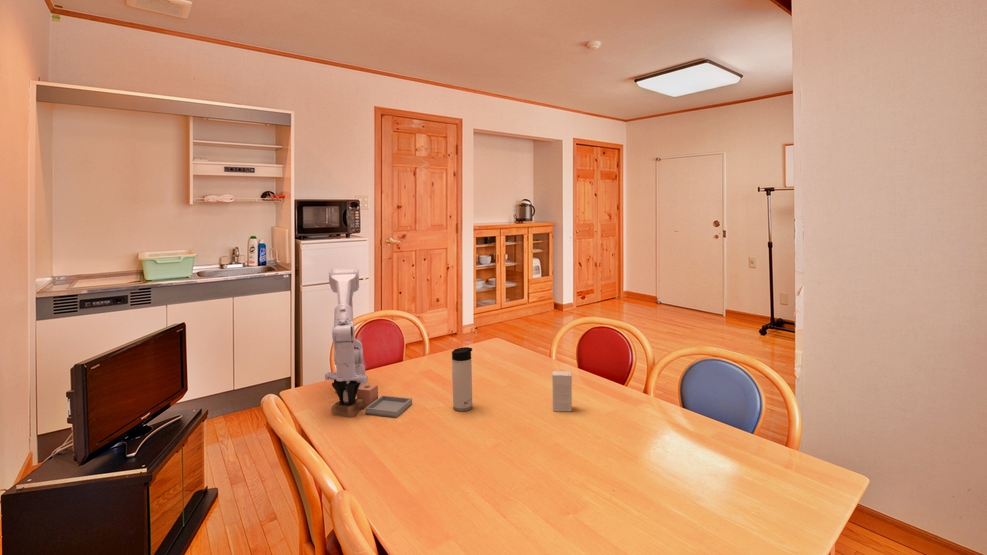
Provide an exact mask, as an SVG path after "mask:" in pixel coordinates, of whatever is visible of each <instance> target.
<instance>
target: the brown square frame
mask: <svg viewBox="0 0 987 555" xmlns="http://www.w3.org/2000/svg"><path fill="white" fill-rule="evenodd" d="M364 409H365V407H364V405H363V399H357V398H355V402H354V403H353V404H352V405H351V406H345V405H343V403H340V400H338V401H337V402H335V403H334V404H332V405H331V415H332V416H338V417H348V418H353V417H354V416H355V415H357V414H358V413H360V412H361V411H362V410H364Z"/></svg>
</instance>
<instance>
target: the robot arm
mask: <svg viewBox="0 0 987 555" xmlns="http://www.w3.org/2000/svg"><path fill="white" fill-rule="evenodd" d="M359 273H360V272H359V268H358V267H353V268H347V267H346V268H330V269H329V271H328V283H329V286H330V289H331V291H332V292H333V293H335V294H337V304H338V305H336V307H335V308H334V310H333V311H334V314H333V316H334V320H333V322H334V323H333V324H334V325H333V326H332V329H331V330H332V331H331V334H332V335H331V337H332V338H331V339H332V342H333V362H334V363H333V364H334V365H335V371H334V372H326V373H324V380H325V381H329V380H331V381H332V380H333V382H332V383H331V386H332V388H333V389H334V392H336V394H337V396H338V399H339V400H338V401H340V403H343V394H342V389H344V388H347V391H348V395H349V404H353V403H354V402H355V399H357V390H358V388H359V387H360V386H362V385H363V384H368V382H369V378H368V375H366V367H365V365H364V364H363V363H364V349H363V348H364V347H363V343H362V342H361V340H359V339H357V338H356V334H355V333H356V332H355V325H354V309H353V296H354V293H356V292H358V291H359V288H360V274H359Z"/></svg>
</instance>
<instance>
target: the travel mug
mask: <svg viewBox="0 0 987 555" xmlns="http://www.w3.org/2000/svg"><path fill="white" fill-rule="evenodd" d="M472 351H473V347H468V346H465V347H457V348H455V349H453V350H452V351H451V373H452V376H451V377H452V380H451V381H452V405H453V407H452V408H453V410H455V411H457V412H468V411H471V410H472V409H473V374H472V372H473V371H472V369H473V368H472V366H473V365H472V363H473V362H472Z"/></svg>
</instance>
